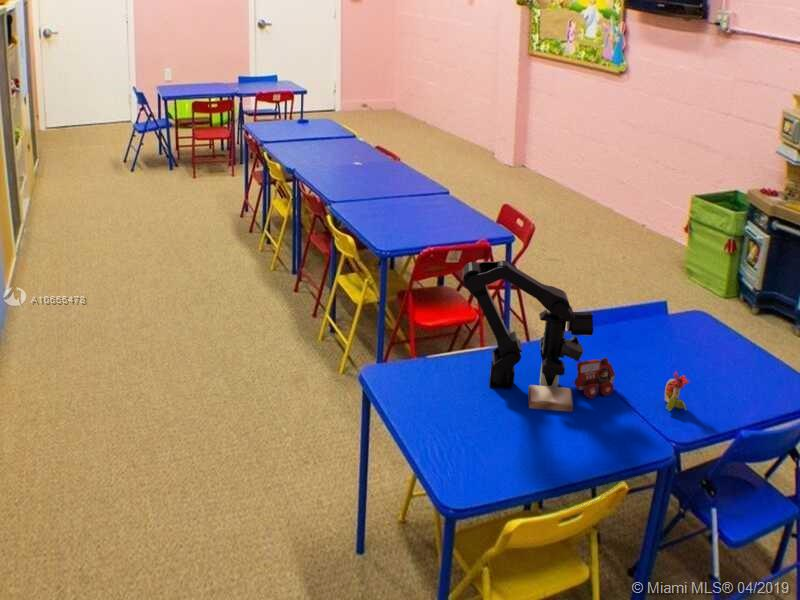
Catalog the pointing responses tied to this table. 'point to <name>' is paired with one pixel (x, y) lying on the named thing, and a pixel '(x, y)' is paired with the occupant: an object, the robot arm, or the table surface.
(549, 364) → the robot arm
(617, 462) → the table surface
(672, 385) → the bird rattle
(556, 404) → the plinth
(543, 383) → the white block
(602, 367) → the toy fire truck
